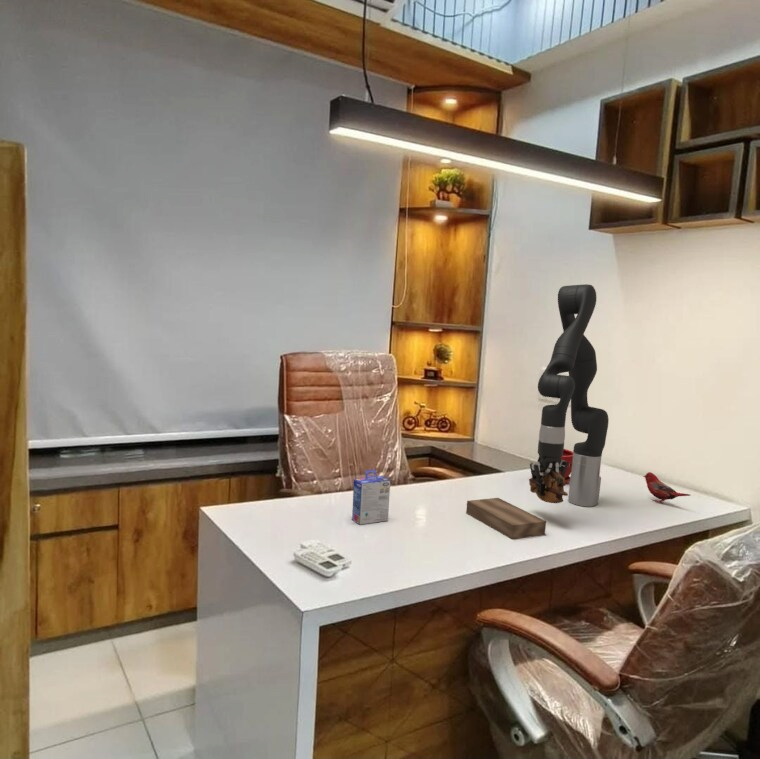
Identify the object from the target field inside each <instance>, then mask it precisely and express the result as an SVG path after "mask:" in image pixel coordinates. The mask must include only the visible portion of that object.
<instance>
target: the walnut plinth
mask: <svg viewBox="0 0 760 759" xmlns="http://www.w3.org/2000/svg"><path fill="white" fill-rule="evenodd" d="M465 514H467V515H469V516H470V517H472V518H474V519H475V520H477V521H479V522H481V523H482V524H484V525H486V526H488V527H489V528H491V529H493V530H495V531H497V532H498V533H500V534H502V535H504V536H505V537H507V538H509V539H510V540H517V539H523V538H530V537H531V538H532V537H537V536H544V535H545V534H546V527H547V521H546V520H545V519H543V518H541V517H538V516H536V515H535V514H532V513H531V512H528V511H527V510H524V509H522V508H520V507H518V506H516V505H514V504H512V503H510V502H508V501H506V500H504V499H501V498H500V497H494V498H493V497H492V498H482V499H471V500H467V501H466V512H465Z"/></svg>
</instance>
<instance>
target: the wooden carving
mask: <svg viewBox="0 0 760 759" xmlns="http://www.w3.org/2000/svg"><path fill="white" fill-rule="evenodd" d="M542 473H544V474H545V472H542ZM542 478H543V476H542ZM542 478H541V479H542ZM528 481H529V486H530V489H529V490H530V492H531V493H534V494H535V495H536V496H537V497H538V499H539V500H541V501H543V502H545V503H550V504H560V503H563V502H564V498H563V496H566V497H567V496H569V492H566V491H564V487H565V485H566V483H565V478H563V477H562V476H561V474H560V473H558V472H555V471H552V472H551V473H549V476H548V477H547V478H546V482H545V495H544V496H540V495H538V493H537V487H538V483H537V482H536V481H533V480H532V477H530V478H528Z"/></svg>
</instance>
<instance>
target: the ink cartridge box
mask: <svg viewBox="0 0 760 759" xmlns="http://www.w3.org/2000/svg"><path fill="white" fill-rule="evenodd" d="M364 473H365V474H364V475H365V477H362V478H355V479H353V492H352V493H353V494H352V514H351V520H352V521H354V522H355V523H356V524H358V525H367V524H374V523H381V522H387V521H389V513H390V512H389V510H390V509H389V508H390V496H391V493H390V491H391V480H390V479H389V478H386V477H385V476H383V475H381V476H379V475H377V471H376V469H370V470H364ZM370 473H373V474H371V475H368V474H370Z"/></svg>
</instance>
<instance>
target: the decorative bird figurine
mask: <svg viewBox="0 0 760 759" xmlns="http://www.w3.org/2000/svg"><path fill="white" fill-rule="evenodd" d="M642 477H643V478H644V479H645V482H646V486H647V487H646V488H647V489H648V491H649V492H650V494H651V495H652V496H653V497H654V498H656V499H651V500H652V501H654V502H655V503H657V504H658V503H659V504H661V505H663V504H664V505H666V503H665V502H664V501H667V500H673V499H675V498H678V497H687V496H688V497H689V496H691V494H689V493H682V492H677V491H676V490H675V489H673V488H672V487H671V486H669V485H668V484H665V483H664V482H662V481H661V480H659V478H658V476H656V475H655V474H654V473H653V472H647V473H646V474H645V475H644V476H642ZM658 499H659V500H658Z"/></svg>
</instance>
